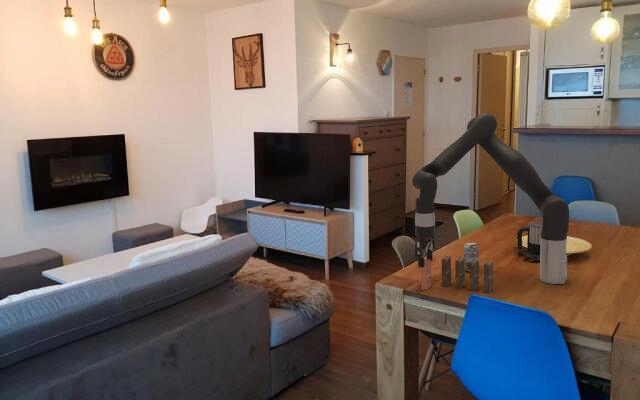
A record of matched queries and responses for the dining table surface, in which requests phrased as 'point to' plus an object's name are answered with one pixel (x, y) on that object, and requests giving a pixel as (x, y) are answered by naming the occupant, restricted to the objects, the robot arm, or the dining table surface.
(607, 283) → the dining table surface
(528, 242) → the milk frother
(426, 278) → the end tile
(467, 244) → the beverage can
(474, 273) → the tile
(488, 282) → the tile
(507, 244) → the dining table surface
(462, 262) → the tile
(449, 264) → the tile
